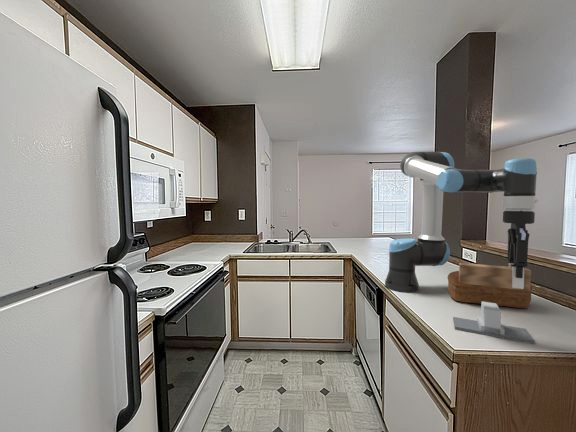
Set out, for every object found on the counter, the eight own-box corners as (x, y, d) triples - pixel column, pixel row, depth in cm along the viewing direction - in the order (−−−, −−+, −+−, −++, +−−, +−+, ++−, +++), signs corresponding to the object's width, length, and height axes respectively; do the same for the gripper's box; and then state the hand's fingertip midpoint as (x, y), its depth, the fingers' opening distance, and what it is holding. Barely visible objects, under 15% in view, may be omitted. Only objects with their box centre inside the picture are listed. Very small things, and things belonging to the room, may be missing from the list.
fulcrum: (454, 329, 91) (455, 305, 91) (453, 319, 99) (453, 297, 99) (534, 343, 82) (535, 317, 82) (525, 331, 90) (526, 307, 90)
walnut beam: (459, 282, 92) (460, 264, 92) (458, 280, 96) (459, 262, 96) (530, 290, 84) (530, 270, 84) (526, 287, 87) (527, 268, 87)
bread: (444, 293, 128) (445, 266, 128) (519, 300, 119) (520, 271, 119) (451, 303, 115) (452, 273, 114) (536, 312, 106) (537, 280, 106)
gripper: (544, 211, 77) (540, 295, 78) (526, 210, 92) (523, 280, 93) (509, 210, 80) (506, 291, 81) (497, 209, 95) (495, 278, 96)
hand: (515, 285), depth 87 cm, fingers closed on walnut beam, 4 cm apart
